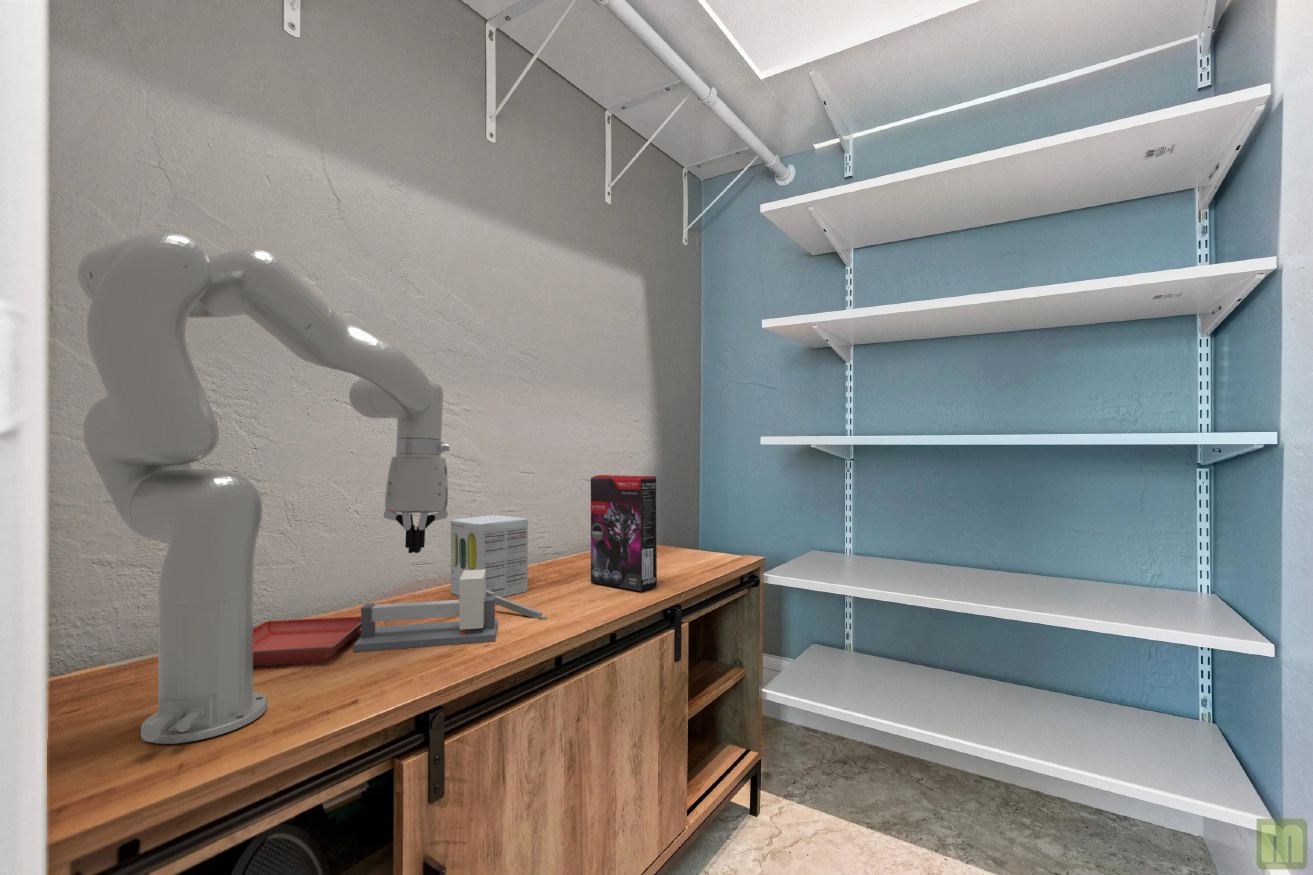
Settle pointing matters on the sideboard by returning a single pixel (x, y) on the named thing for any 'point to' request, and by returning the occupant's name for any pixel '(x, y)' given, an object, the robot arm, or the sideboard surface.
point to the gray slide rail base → (421, 625)
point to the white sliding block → (472, 599)
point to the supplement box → (491, 552)
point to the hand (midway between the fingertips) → (414, 551)
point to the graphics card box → (624, 531)
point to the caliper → (515, 606)
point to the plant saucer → (301, 639)
